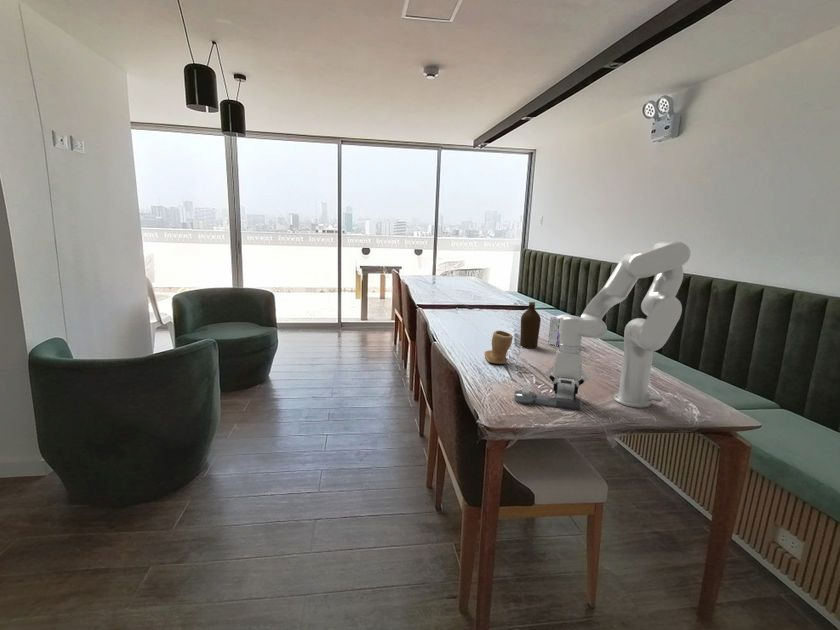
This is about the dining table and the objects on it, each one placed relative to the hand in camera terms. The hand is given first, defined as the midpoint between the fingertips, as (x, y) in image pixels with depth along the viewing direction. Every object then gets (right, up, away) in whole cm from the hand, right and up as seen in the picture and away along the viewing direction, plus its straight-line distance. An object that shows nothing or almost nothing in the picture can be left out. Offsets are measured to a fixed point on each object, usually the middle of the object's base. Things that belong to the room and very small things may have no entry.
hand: (565, 393), depth 161 cm
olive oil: (+5, +12, +74) cm, 75 cm away
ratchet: (-9, -2, -7) cm, 12 cm away
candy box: (+25, +13, +82) cm, 87 cm away
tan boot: (-18, +7, +44) cm, 48 cm away
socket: (0, -1, 0) cm, 1 cm away
